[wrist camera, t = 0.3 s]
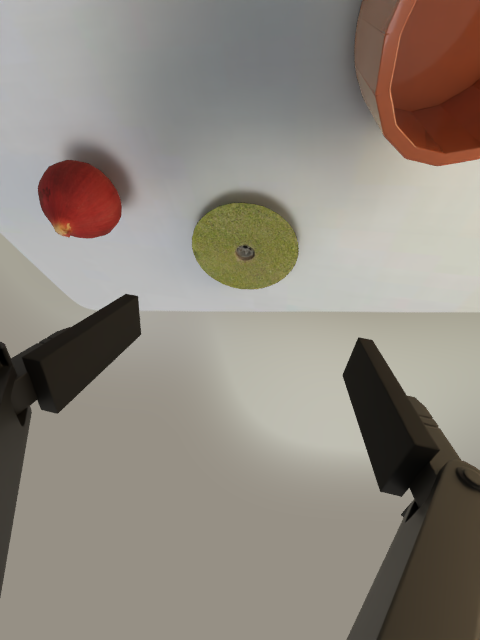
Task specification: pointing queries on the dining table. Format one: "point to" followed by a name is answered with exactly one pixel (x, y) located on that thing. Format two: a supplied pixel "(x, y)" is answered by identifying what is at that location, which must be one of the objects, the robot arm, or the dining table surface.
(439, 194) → the dining table surface
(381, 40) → the flower pot
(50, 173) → the onion
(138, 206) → the dining table surface
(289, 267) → the mat
